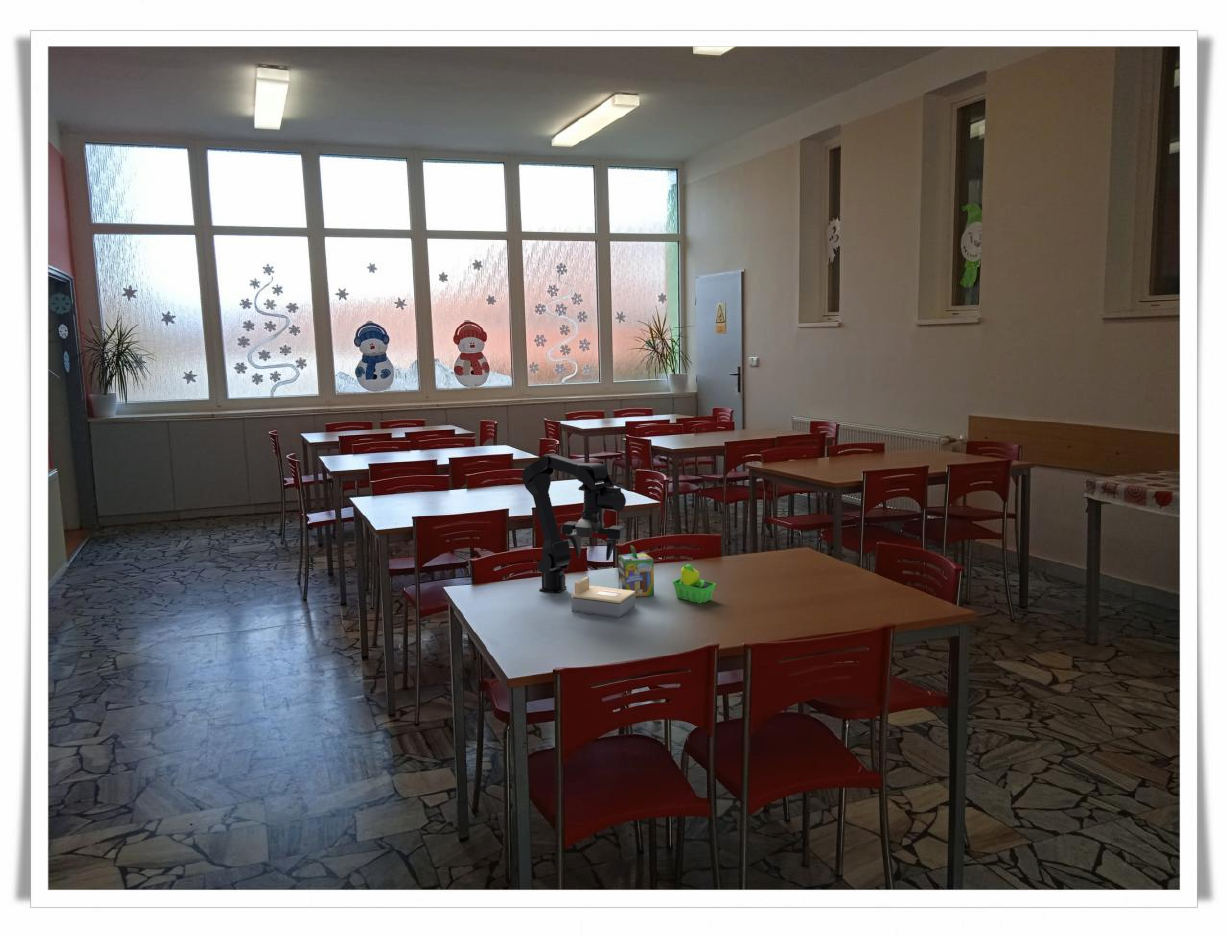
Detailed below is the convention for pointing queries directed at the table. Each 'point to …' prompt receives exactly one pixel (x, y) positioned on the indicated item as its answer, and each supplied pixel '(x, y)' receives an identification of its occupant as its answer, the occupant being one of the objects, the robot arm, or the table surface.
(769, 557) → the table surface
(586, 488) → the robot arm
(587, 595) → the lid
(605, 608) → the grey shallow rectangular container
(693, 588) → the fruit basket
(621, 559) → the chalk box
